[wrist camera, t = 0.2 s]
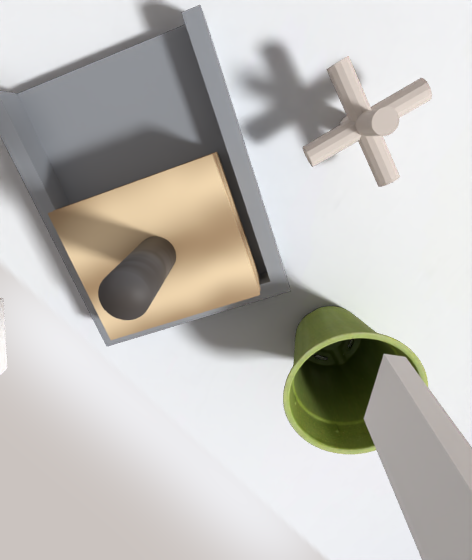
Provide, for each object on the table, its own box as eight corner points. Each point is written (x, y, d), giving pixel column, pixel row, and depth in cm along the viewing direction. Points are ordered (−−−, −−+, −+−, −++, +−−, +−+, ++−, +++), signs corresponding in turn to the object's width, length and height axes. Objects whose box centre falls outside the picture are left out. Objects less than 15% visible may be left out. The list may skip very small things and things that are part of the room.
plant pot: (389, 370, 44) (433, 442, 34) (285, 388, 45) (297, 464, 35) (377, 273, 40) (423, 320, 30) (264, 296, 42) (270, 349, 31)
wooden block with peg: (77, 201, 37) (-28, 240, 23) (217, 151, 35) (197, 158, 21) (129, 313, 41) (66, 405, 27) (259, 272, 39) (265, 348, 25)
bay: (12, 101, 36) (-20, 96, 32) (206, 21, 33) (200, 4, 29) (120, 326, 43) (106, 346, 39) (286, 275, 41) (290, 291, 37)
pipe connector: (323, 201, 38) (347, 221, 29) (275, 104, 35) (284, 91, 26) (421, 147, 36) (482, 150, 27) (378, 40, 33) (430, 1, 24)
